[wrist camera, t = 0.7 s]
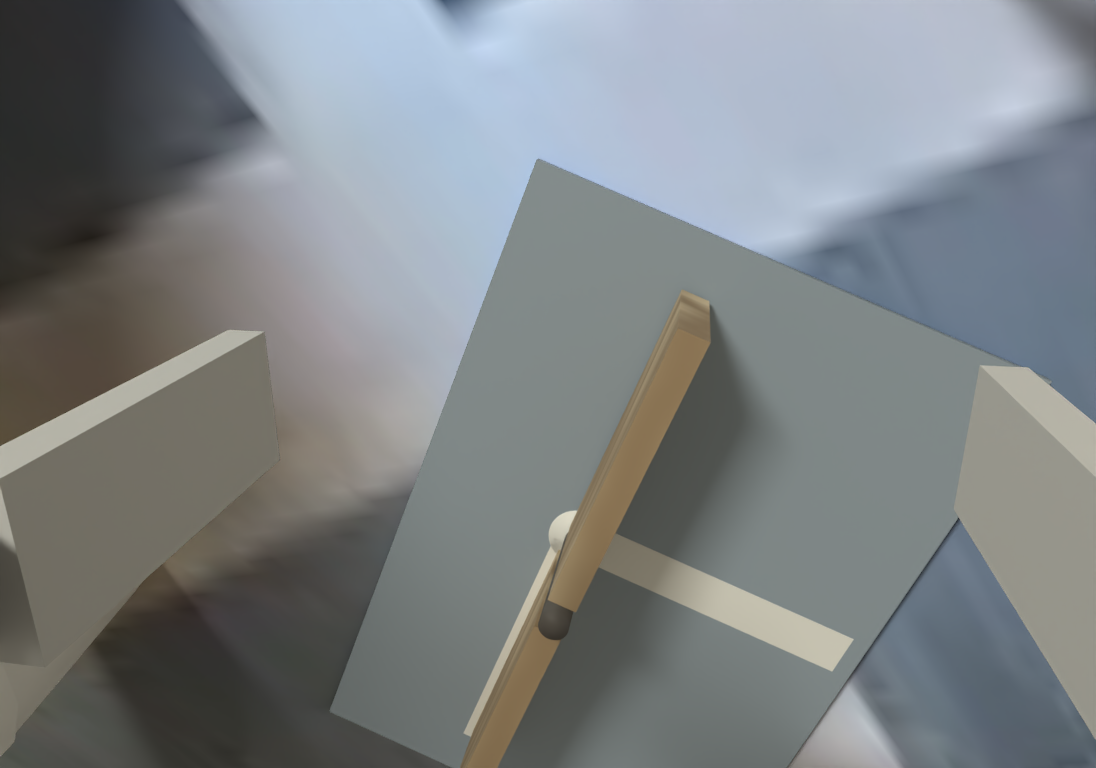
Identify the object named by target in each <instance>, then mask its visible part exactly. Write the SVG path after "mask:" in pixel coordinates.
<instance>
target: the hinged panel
mask: <svg viewBox="0 0 1096 768" xmlns="http://www.w3.org/2000/svg"><path fill="white" fill-rule="evenodd" d="M710 343H711V338H710V308H709V301H708V300H705V299H703V298H701V297H699V296H696V295H694V294H692V293H689V292H687V291H685V290H681V292H680V294H679V296H678V299H677V301H676V303H675V305H674V307H673V309H672V311H671V313H670V315H669V318H668V320H667V322H666V324H665V326H664V328H663V330H662V332H661V335H660V337H659V339H658V341H657V343H656V345H655V347H654V349H653V351H652V354H651V356H650V358H649V360H648V362H647V364H646V366H645V368H644V371H643V373H642V375H641V377H640V379H639V381H638V383H637V385H636V387H635V390H634V392H633V394H632V396H631V398H630V400H629V402H628V404H627V407H626V409H625V411H624V413H623V415H622V417H621V419H620V421H619V424H618V426H617V428H616V430H615V432H614V434H613V436H612V438H611V440H610V443H609V445H608V447H607V449H606V451H605V453H604V455H603V457H602V460H601V462H600V464H599V466H598V468H597V470H596V472H595V474H594V476H593V479H592V481H591V483H590V485H589V487H588V489H587V491H586V493H585V496H584V498H583V500H582V502H581V504H580V506H579V508H578V510H577V512H576V515H575V517H574V519H573V521H572V523H571V525H570V528H569V532H568V533H567V534H566V536H565V539H564V542H563V545H562V548H561V552H560V555H559V558H558V561H557V564H556V568H555V571H554V574H553V577H552V581H551V584H550V587H549V590H548V593H547V597H546V600H545V603H544V606H543V609H542V613H541V616H540V619H539V622H538V628H539V631H540V633H541V634H542V635H543V636H544V637H546V638H548V639H550V640H560V639H563V638H564V637H565V636H566V635H567V634H568V631H569V627H570V623H571V619H572V615H573V612H576V611H577V609H578V607H579V605H580V603H581V601H582V599H583V597H584V595H585V593H586V591H587V589H588V587H589V585H590V583H591V581H592V579H593V577H594V575H595V573H596V571H597V569H598V567H599V565H600V563H601V561H602V559H603V557H604V555H605V553H606V551H607V549H608V547H609V545H610V543H611V541H612V539H613V537H614V535H615V533H616V531H617V529H618V527H619V525H620V523H621V521H622V519H623V517H624V515H625V513H626V511H627V509H628V507H629V505H630V503H631V501H632V499H633V497H634V495H635V493H636V491H637V489H638V487H639V485H640V483H641V481H642V479H643V477H644V475H645V473H646V471H647V469H648V467H649V465H650V463H651V461H652V459H653V457H654V455H655V453H656V451H657V449H658V447H659V445H660V443H661V441H662V439H663V437H664V435H665V433H666V431H667V429H668V427H669V425H670V423H671V421H672V419H673V417H674V415H675V413H676V411H677V409H678V407H679V405H680V403H681V401H682V399H683V397H684V395H685V393H686V391H687V389H688V387H689V385H690V383H691V381H692V379H693V377H694V375H695V373H696V371H697V369H698V367H699V365H700V363H701V361H702V359H703V357H704V355H705V353H706V351H707V349H708V347H709V345H710Z"/></svg>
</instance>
